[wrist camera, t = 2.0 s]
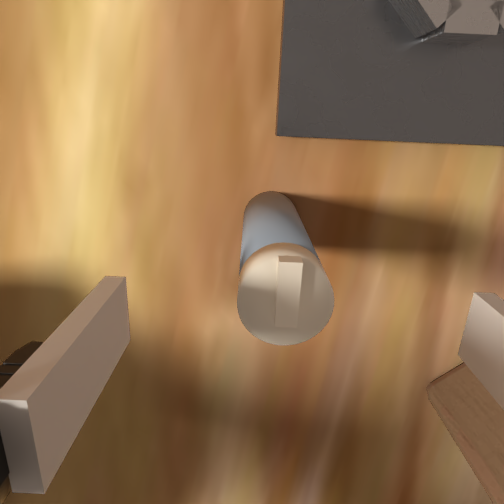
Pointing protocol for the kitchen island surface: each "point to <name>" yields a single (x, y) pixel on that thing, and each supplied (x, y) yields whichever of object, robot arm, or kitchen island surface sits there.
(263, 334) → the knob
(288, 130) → the base plate
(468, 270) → the kitchen island surface
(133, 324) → the kitchen island surface
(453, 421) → the wooden block
